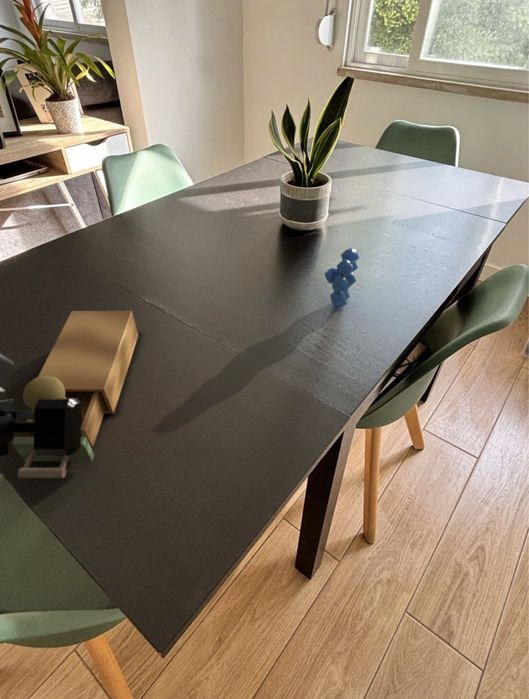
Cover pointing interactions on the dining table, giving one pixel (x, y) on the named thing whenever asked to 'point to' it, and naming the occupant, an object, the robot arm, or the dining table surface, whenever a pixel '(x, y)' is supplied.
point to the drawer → (92, 419)
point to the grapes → (342, 277)
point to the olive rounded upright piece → (43, 390)
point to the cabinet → (94, 353)
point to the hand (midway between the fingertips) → (33, 416)
